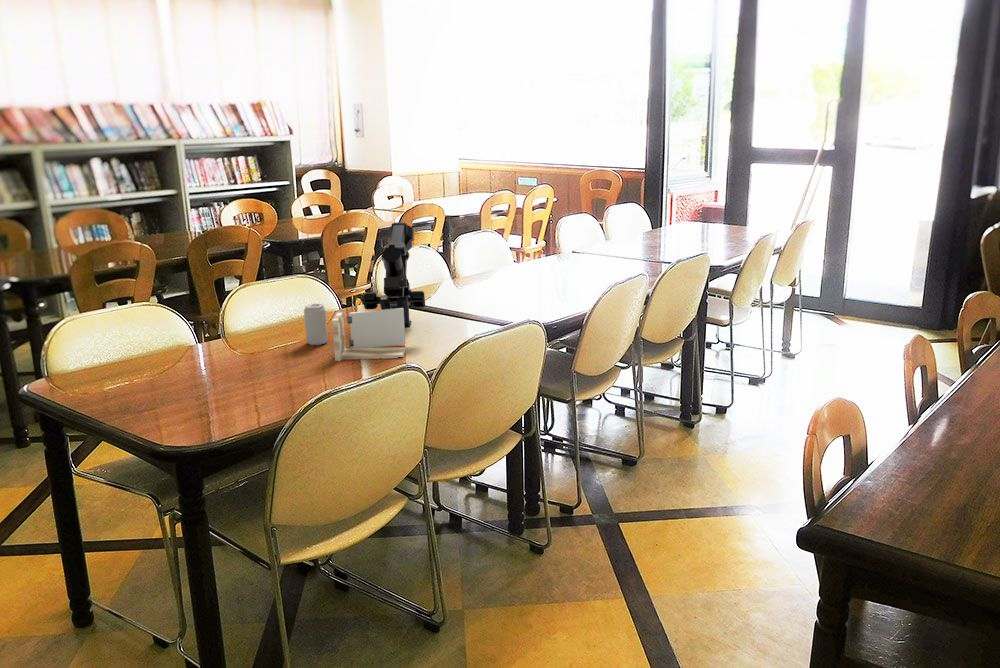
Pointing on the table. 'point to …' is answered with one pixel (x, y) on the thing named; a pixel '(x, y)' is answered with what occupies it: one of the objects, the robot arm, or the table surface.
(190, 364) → the table surface
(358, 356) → the cabinet corner
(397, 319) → the cabinet door
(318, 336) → the beverage can
